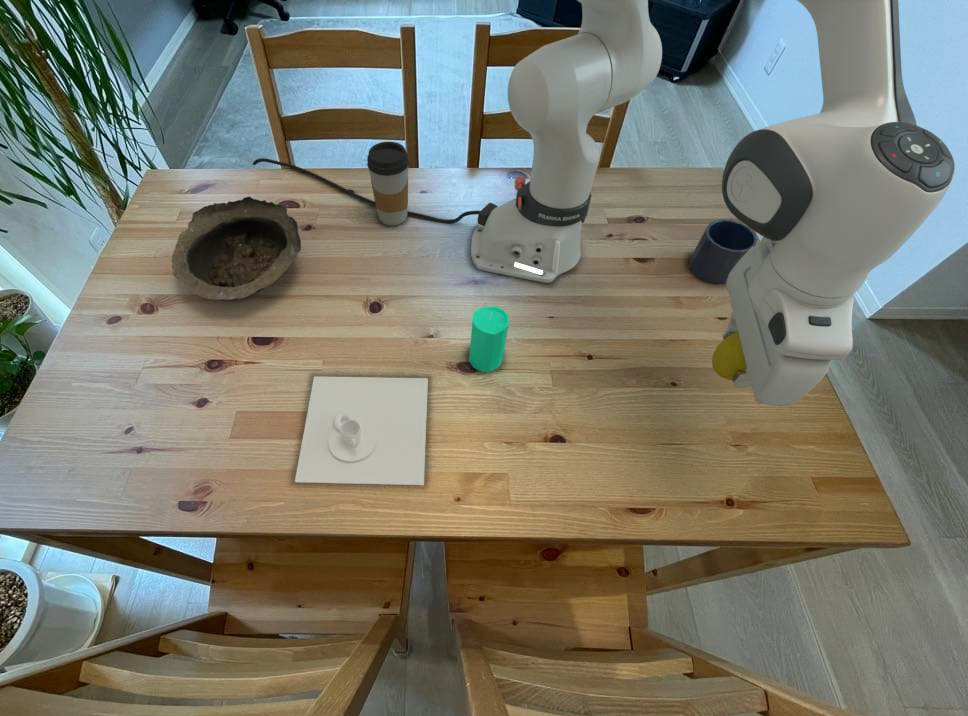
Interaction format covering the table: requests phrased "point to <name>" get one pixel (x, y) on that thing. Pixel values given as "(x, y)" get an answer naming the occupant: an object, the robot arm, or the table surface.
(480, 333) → the candle
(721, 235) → the glazed cup
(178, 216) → the table surface
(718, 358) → the lemon
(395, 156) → the coffee cup
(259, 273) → the stone bowl
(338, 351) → the table surface
